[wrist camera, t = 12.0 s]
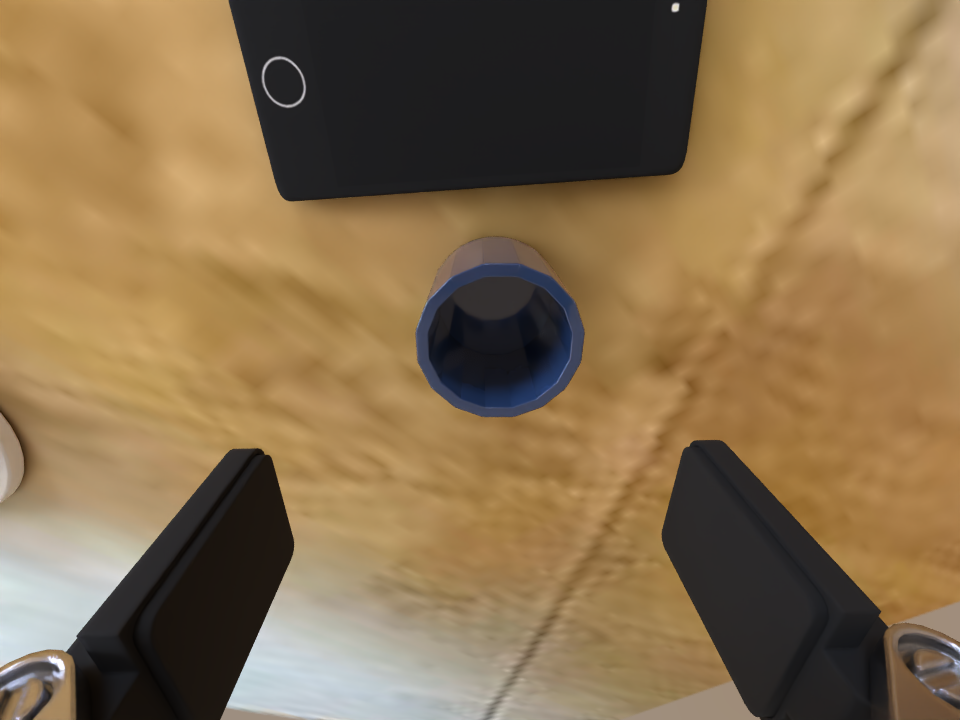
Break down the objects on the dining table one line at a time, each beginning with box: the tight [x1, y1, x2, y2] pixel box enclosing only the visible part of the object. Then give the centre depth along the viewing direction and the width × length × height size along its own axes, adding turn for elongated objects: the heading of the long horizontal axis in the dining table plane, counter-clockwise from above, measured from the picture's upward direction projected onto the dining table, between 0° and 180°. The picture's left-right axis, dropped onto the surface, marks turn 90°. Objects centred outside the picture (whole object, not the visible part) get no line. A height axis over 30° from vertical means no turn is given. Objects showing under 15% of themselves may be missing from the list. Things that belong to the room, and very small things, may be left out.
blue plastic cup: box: [416, 236, 585, 417], centre depth 19 cm, size 7×7×6 cm
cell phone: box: [229, 0, 707, 201], centre depth 17 cm, size 9×18×1 cm, turn 94°
